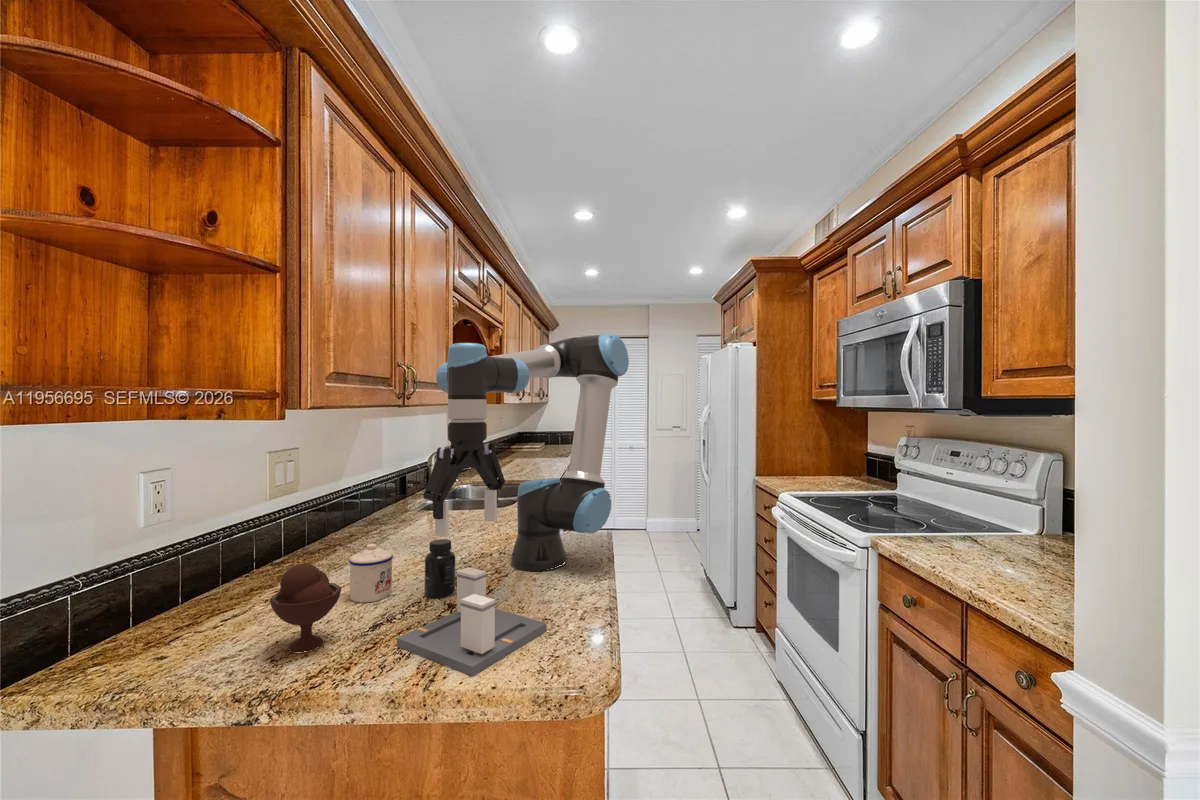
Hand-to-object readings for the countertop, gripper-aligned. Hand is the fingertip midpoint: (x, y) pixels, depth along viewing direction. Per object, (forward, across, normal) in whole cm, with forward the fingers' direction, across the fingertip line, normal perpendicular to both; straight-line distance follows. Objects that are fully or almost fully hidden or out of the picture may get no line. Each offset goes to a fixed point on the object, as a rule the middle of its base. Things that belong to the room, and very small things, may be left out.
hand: (467, 527), depth 99 cm
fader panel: (+19, +4, +6) cm, 20 cm away
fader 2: (+19, +10, +11) cm, 24 cm away
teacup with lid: (+19, -2, -31) cm, 36 cm away
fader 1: (+19, -1, 0) cm, 19 cm away
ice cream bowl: (+19, +21, -19) cm, 34 cm away
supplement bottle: (+19, -9, -17) cm, 27 cm away
